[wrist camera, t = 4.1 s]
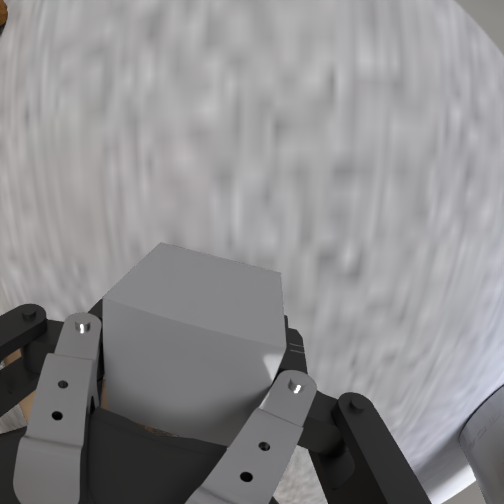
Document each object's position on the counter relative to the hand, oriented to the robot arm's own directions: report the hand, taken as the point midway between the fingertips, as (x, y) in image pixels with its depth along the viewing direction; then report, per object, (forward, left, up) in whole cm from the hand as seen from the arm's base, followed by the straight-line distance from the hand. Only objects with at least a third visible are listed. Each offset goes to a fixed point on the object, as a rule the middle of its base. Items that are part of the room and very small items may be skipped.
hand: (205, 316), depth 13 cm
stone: (0, 0, 0) cm, 0 cm away
